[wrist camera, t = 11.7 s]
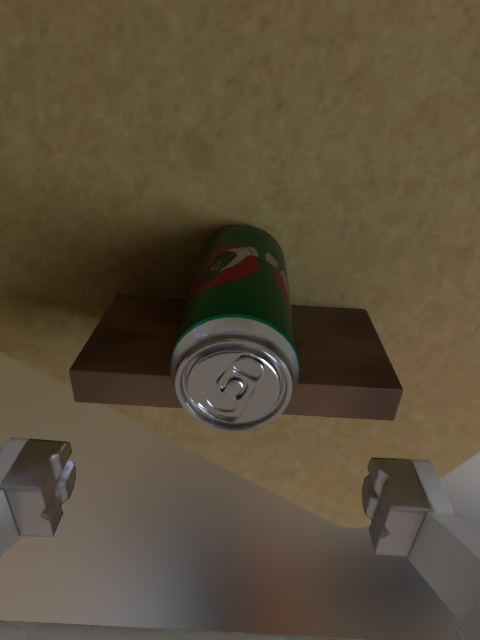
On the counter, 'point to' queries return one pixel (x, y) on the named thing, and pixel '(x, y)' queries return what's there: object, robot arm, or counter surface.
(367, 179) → the counter surface
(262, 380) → the soda can
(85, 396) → the brown rectangular block
